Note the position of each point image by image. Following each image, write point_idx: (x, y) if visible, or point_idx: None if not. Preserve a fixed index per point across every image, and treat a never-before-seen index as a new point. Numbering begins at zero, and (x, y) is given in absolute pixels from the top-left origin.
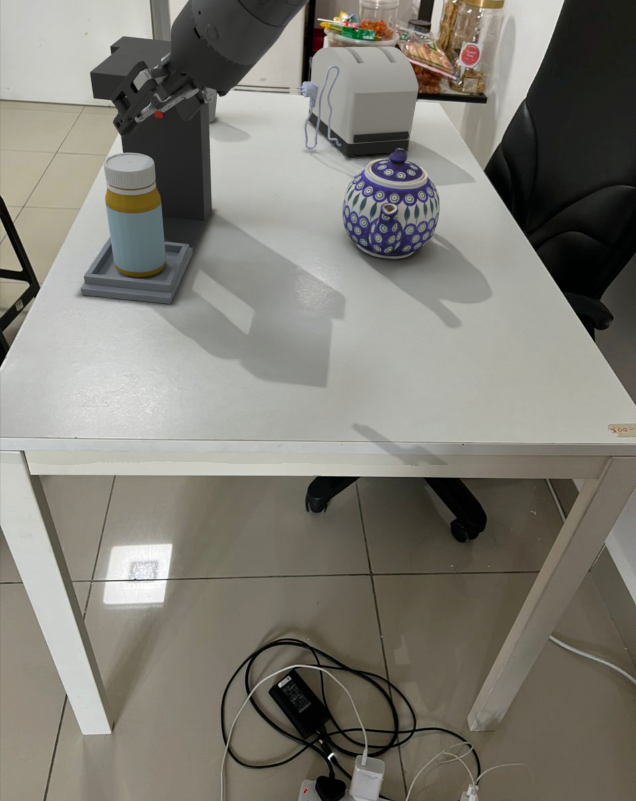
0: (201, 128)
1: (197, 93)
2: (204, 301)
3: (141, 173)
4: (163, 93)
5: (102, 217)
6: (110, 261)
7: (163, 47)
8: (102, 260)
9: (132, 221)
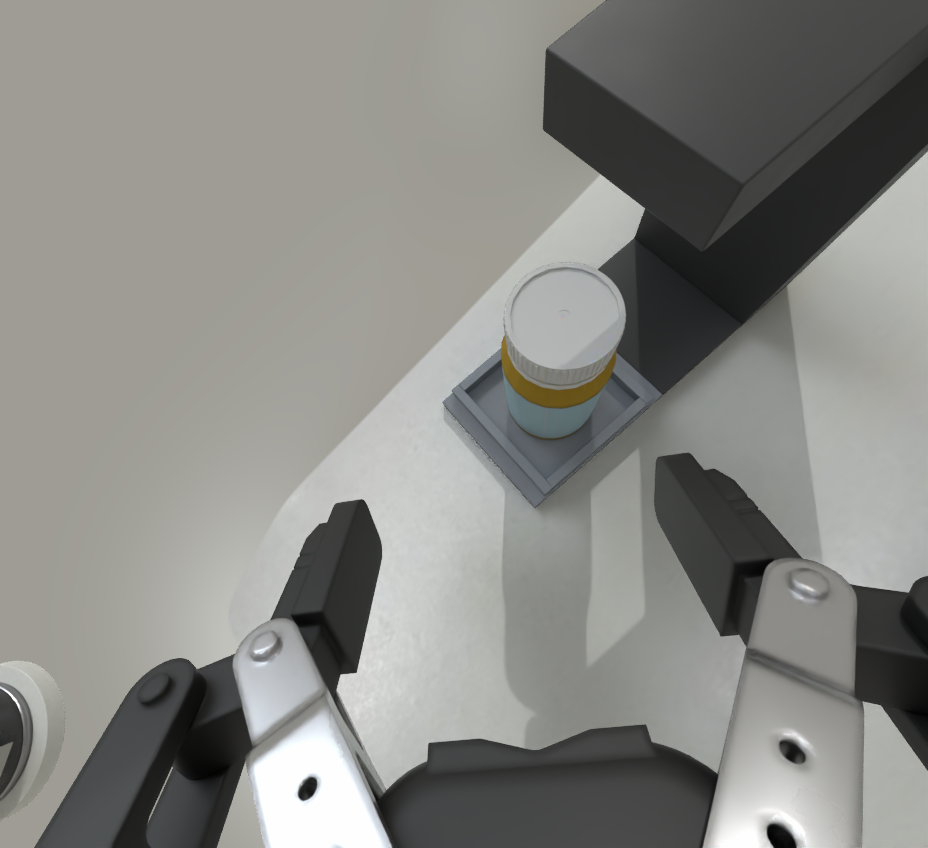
0: (881, 189)
1: (743, 613)
2: (586, 536)
3: (560, 373)
4: (765, 193)
5: (593, 220)
6: None
7: None
8: None
9: (524, 403)
